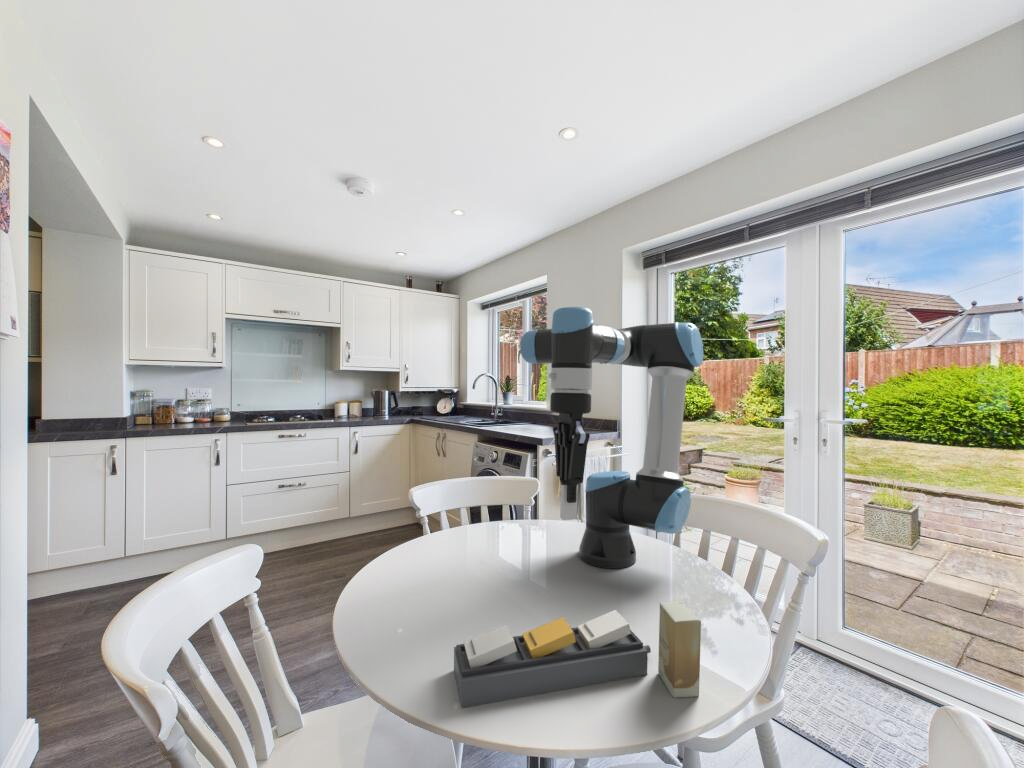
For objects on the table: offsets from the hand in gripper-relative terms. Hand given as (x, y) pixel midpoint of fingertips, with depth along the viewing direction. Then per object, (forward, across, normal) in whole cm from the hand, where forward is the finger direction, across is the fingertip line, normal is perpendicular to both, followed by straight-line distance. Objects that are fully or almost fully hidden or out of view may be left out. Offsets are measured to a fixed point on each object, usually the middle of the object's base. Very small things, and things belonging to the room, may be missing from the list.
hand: (568, 518), depth 85 cm
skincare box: (+23, +15, +14) cm, 31 cm away
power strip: (+23, +7, -4) cm, 25 cm away
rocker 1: (+19, +8, -16) cm, 26 cm away
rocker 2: (+18, +7, +4) cm, 20 cm away
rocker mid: (+18, +8, -6) cm, 21 cm away
